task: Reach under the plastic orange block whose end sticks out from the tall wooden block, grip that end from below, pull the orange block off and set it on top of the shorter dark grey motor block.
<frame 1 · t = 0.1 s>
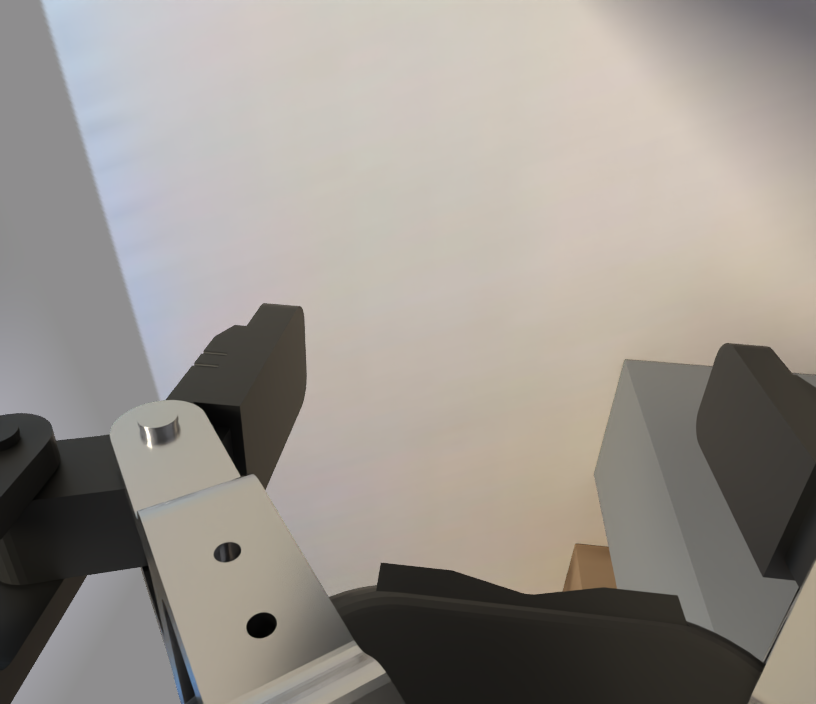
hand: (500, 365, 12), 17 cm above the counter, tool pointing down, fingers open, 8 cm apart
tall wooden block: (656, 593, 42), on the counter
motor block: (722, 430, 34), on the counter
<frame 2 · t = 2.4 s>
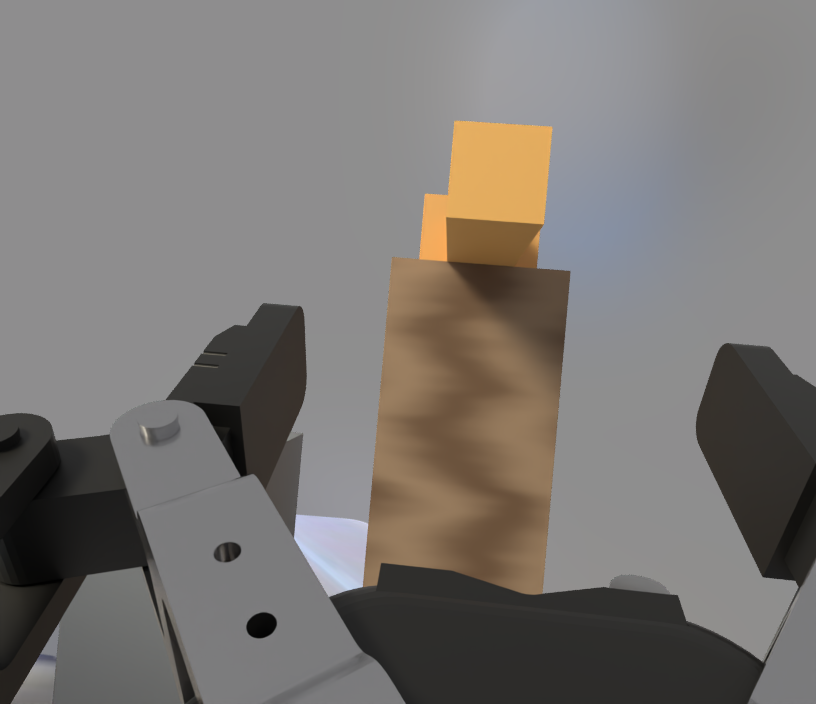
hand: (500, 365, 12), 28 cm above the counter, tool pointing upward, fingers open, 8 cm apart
orange block: (477, 273, 32), point 32 cm above the counter, touching tall wooden block
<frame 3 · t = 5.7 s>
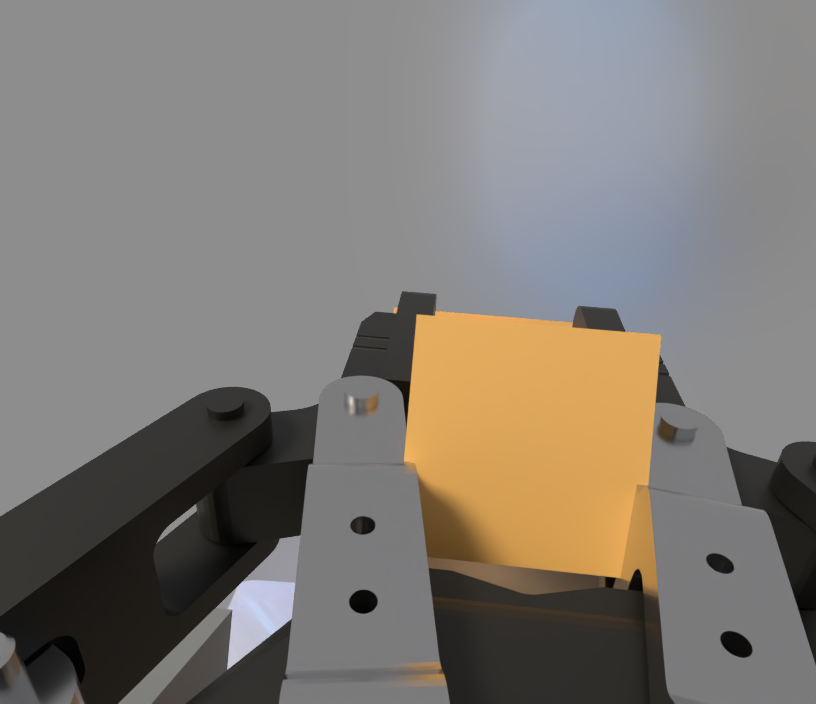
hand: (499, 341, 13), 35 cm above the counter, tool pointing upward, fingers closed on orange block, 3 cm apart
orange block: (475, 440, 20), point 32 cm above the counter, touching gripper, tall wooden block
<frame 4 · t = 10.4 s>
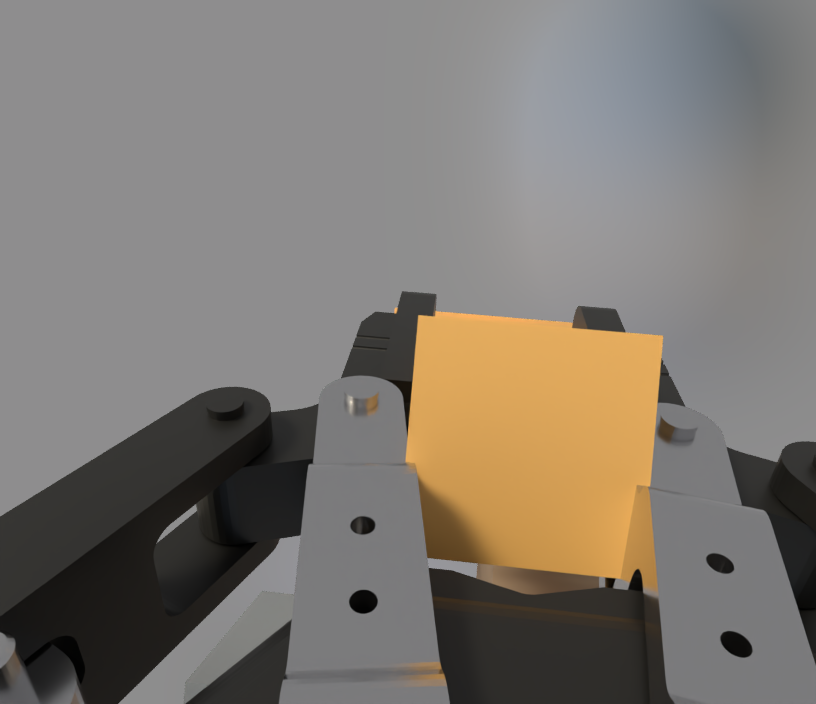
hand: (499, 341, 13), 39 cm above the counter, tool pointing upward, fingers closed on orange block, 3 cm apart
orange block: (476, 441, 20), point 36 cm above the counter, touching gripper
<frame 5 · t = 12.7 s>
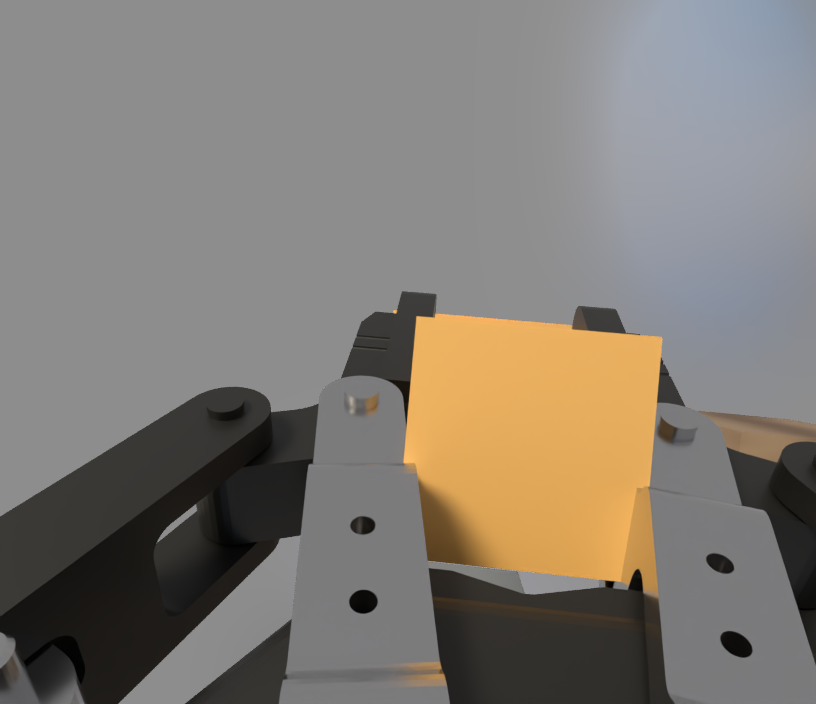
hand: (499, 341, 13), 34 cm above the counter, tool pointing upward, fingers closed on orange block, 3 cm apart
orange block: (475, 443, 20), point 31 cm above the counter, touching gripper
when the fingers open (26 cm above the counter, at t = 15.0 s): orange block stays where it is, resting on motor block.
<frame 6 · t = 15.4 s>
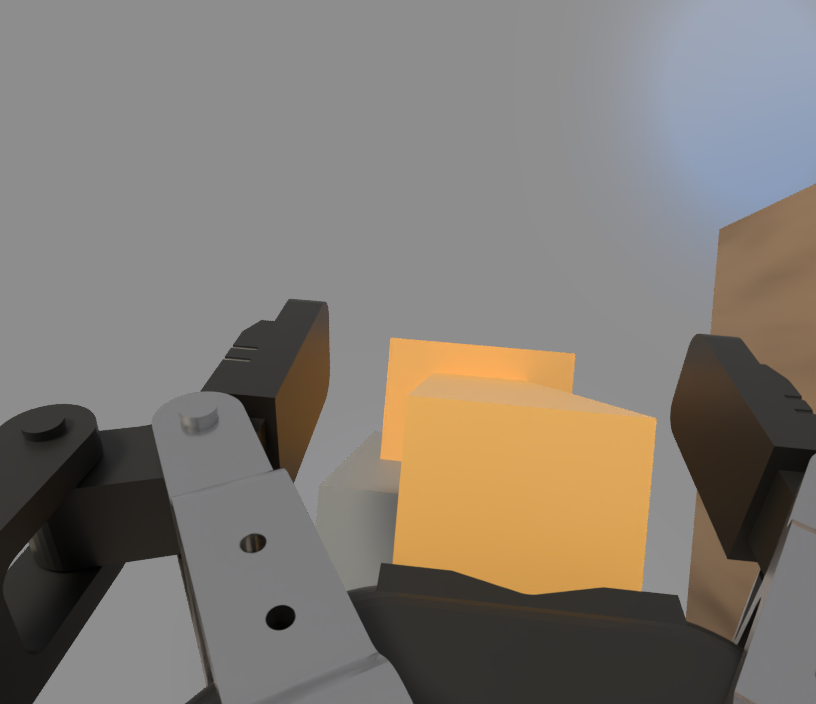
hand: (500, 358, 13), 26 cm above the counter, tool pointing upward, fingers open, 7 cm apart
orange block: (472, 473, 20), point 22 cm above the counter, touching motor block
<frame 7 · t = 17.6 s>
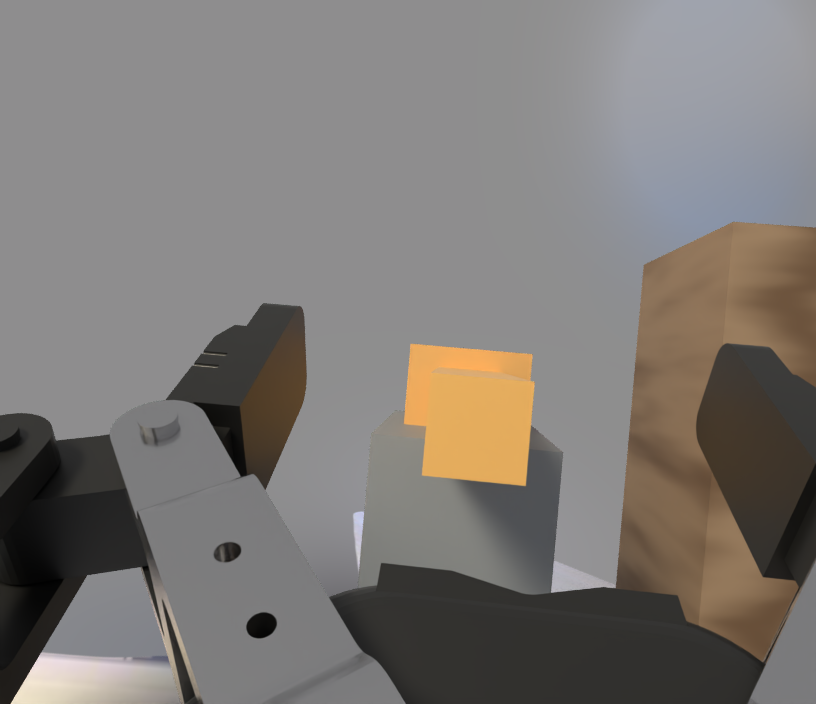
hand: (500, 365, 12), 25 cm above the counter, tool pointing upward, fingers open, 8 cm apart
orange block: (464, 432, 30), point 22 cm above the counter, touching motor block
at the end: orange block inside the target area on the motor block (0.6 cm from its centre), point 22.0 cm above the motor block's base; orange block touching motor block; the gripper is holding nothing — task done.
